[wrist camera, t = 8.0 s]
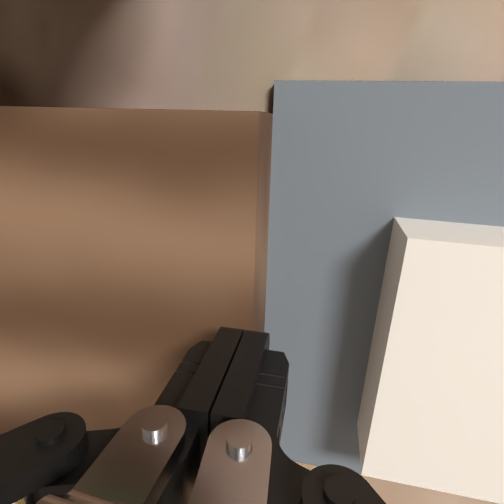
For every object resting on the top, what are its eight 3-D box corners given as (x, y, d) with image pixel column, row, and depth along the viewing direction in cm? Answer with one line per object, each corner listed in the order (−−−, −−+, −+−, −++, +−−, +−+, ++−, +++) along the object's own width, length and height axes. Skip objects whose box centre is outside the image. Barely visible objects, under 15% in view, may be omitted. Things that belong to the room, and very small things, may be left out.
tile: (657, 262, 9) (593, 234, 12) (407, 238, 10) (394, 216, 13) (546, 513, 12) (512, 451, 15) (361, 475, 14) (357, 423, 16)
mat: (276, 81, 13) (274, 80, 12) (662, 84, 11) (675, 82, 10) (260, 448, 18) (259, 454, 18) (515, 495, 16) (519, 504, 16)
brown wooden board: (-103, 105, 16) (-196, 101, 13) (274, 113, 13) (258, 111, 10) (-28, 380, 20) (-84, 421, 18) (261, 431, 18) (248, 490, 15)
